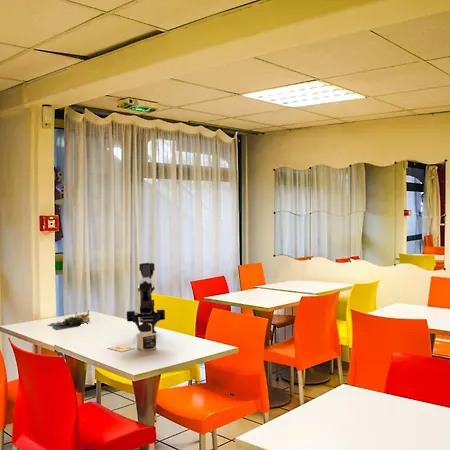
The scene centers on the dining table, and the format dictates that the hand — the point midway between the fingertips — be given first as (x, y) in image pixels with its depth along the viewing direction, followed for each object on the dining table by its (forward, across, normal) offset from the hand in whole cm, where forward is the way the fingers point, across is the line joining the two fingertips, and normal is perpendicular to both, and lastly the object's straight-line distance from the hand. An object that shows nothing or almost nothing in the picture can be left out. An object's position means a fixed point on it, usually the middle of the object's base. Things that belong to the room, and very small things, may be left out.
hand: (145, 330), depth 253 cm
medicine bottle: (+6, 0, +7) cm, 9 cm away
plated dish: (-42, -46, +56) cm, 84 cm away
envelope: (+4, -12, +9) cm, 16 cm away
